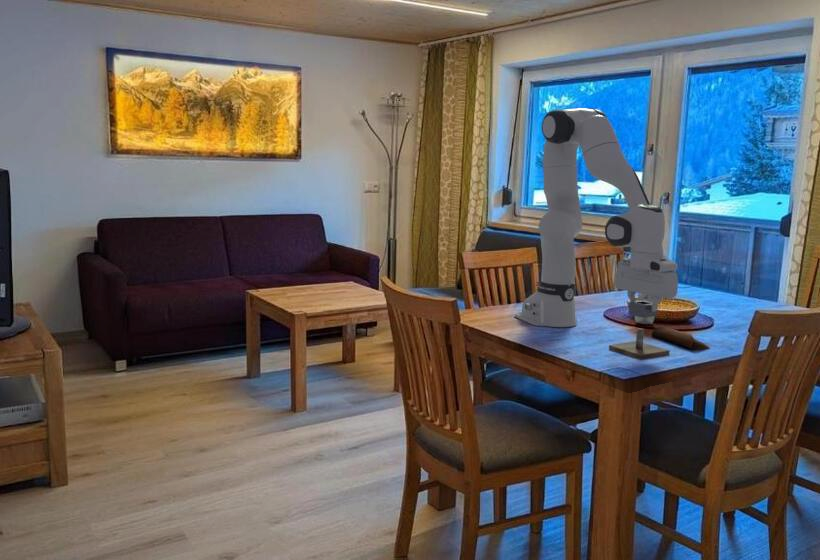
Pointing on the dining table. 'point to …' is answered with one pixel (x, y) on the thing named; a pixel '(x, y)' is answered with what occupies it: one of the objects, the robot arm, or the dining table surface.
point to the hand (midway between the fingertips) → (643, 308)
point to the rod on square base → (639, 348)
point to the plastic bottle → (648, 319)
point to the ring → (641, 309)
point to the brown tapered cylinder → (679, 338)
